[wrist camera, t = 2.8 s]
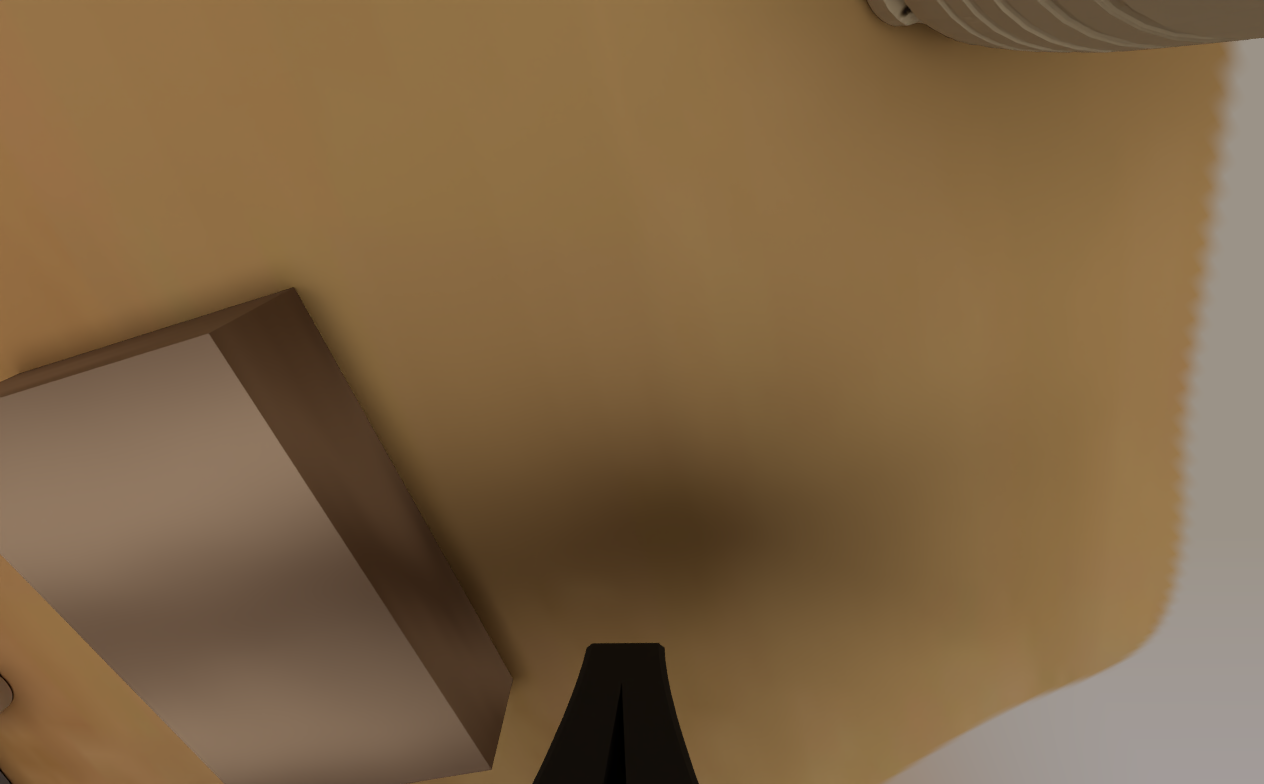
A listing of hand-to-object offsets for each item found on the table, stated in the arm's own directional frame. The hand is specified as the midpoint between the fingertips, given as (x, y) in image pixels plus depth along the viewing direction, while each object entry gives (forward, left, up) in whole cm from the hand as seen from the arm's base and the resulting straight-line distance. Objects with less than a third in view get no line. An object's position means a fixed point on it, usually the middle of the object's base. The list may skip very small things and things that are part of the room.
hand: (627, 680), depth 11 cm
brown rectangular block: (0, +9, -4) cm, 10 cm away
